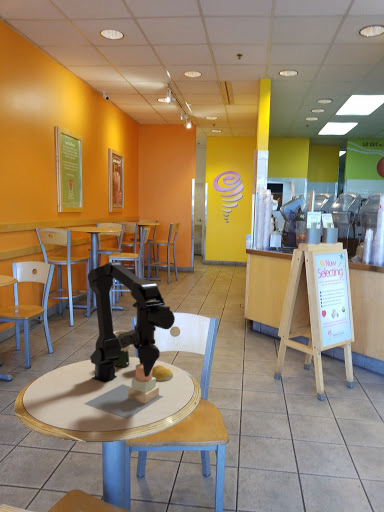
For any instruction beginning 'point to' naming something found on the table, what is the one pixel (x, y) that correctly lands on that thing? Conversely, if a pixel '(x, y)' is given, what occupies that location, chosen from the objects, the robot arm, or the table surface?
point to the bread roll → (161, 373)
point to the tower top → (143, 385)
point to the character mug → (122, 352)
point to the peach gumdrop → (142, 374)
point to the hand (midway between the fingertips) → (144, 371)
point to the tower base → (143, 395)
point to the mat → (119, 402)
